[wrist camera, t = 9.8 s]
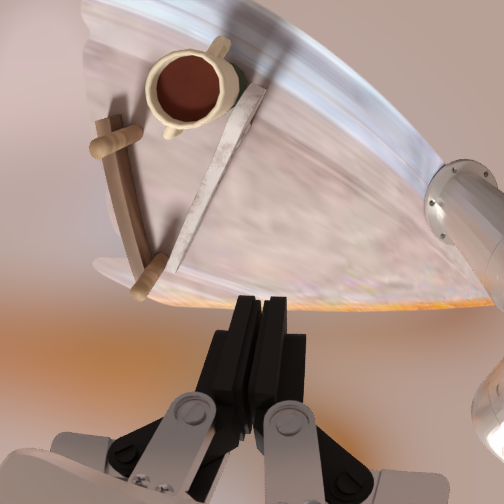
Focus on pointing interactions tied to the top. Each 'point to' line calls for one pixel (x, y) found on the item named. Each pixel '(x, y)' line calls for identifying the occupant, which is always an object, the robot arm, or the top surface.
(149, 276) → the peg rack
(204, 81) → the character mug
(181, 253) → the wrench
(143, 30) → the top surface
